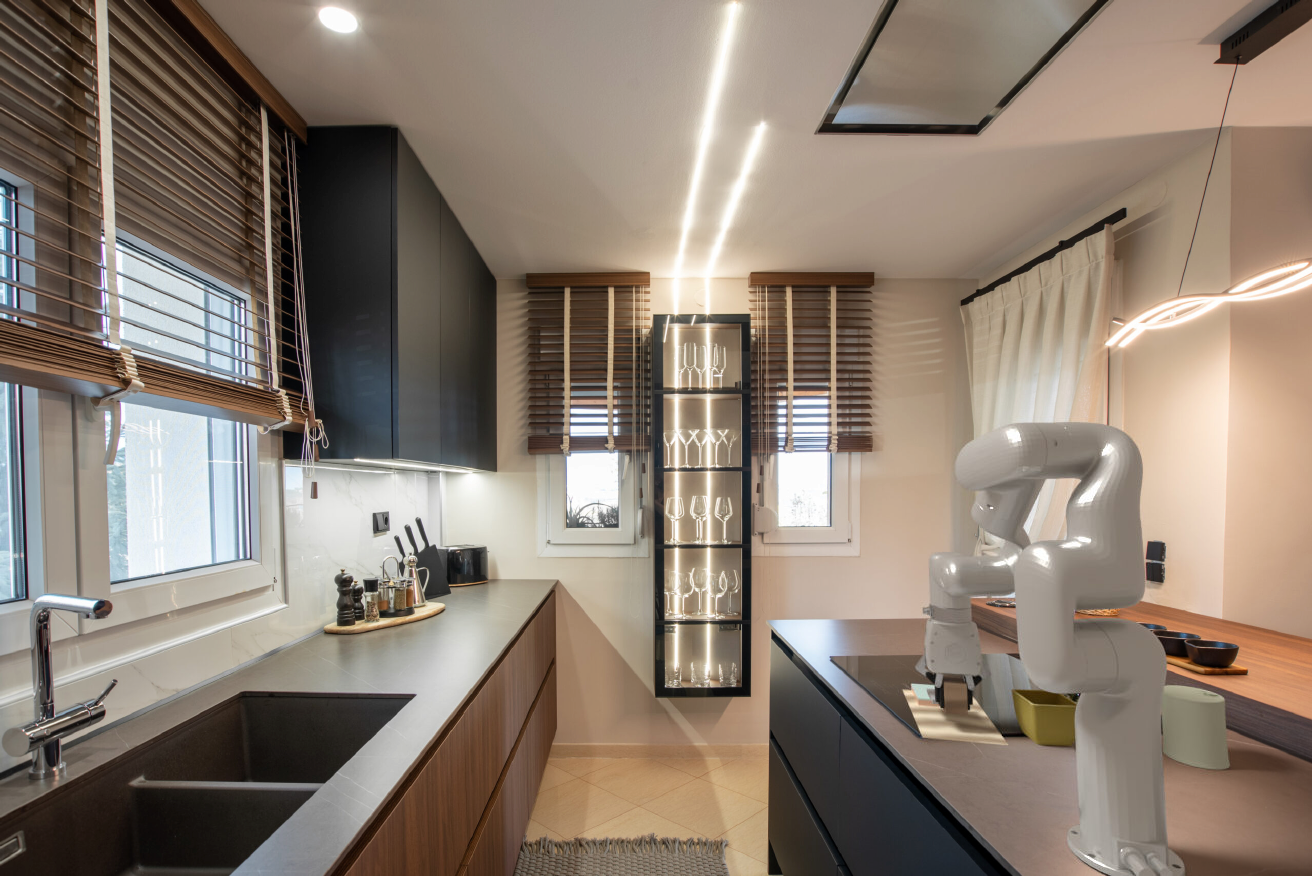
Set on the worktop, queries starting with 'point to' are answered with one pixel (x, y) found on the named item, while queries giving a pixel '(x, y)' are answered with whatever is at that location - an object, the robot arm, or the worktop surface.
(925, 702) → the tile
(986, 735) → the board
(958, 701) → the block on grey plate
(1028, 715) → the flower pot
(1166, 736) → the can
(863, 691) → the worktop surface
